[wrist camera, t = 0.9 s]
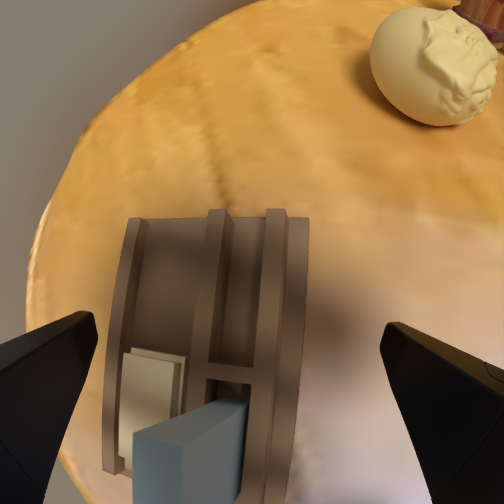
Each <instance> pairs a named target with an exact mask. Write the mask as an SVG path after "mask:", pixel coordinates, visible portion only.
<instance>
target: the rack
mask: <svg viewBox="0 0 504 504" xmlns="http://www.w3.org/2000/svg"><path fill="white" fill-rule="evenodd" d="M308 247H309V218H288V217H287V214H286V210H285V209H267V213H266V217H239V218H231V217H230V215H229V214H228V212H227V211H226V209H213V210H209V212H208V218H174V219H142V218H129V220H128V224H127V228H126V233H125V237H124V242H123V247H122V252H121V256H120V262H119V267H118V272H117V278H116V284H115V290H114V296H113V302H112V309H111V316H110V324H109V332H108V340H107V350H106V360H105V372H104V387H103V406H102V470H103V471H105V472H108V473H110V474H112V475H116V474H119V473H120V474H122V475H125V476H127V477H130V478H132V471H131V470H129V469H126V468H125V458H123V457H121V456H119V411H120V392H121V378H122V365H123V355H124V353H131V348H141V349H147V350H152V351H157V352H163V353H168V354H174V355H180V356H186V357H190V362H189V373H188V384H187V396H186V409H185V413H187V412H189V411H192V410H194V409H196V408H199V407H201V406H203V405H206V404H208V403H210V402H213V401H215V400H217V399H220V398H222V397H226V398H233V399H240V400H248V401H250V407H249V417H248V427H247V437H246V447H245V457H244V466H243V476H242V486H241V492H240V493H239V495H238V496H237V498H236V500H235V501H234V503H233V504H284V502H285V496H286V490H287V483H288V477H289V470H290V463H291V455H292V448H293V440H294V432H295V423H296V414H297V405H298V396H299V386H300V375H301V364H302V352H303V339H304V325H305V309H306V292H307V272H308Z"/></svg>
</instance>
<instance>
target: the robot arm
mask: <svg viewBox="0 0 504 504" xmlns="http://www.w3.org/2000/svg"><path fill="white" fill-rule="evenodd" d="M97 342H98V333H97V329H96V324H95V319H94V315H93V313H92V312H89V311H78V312H75V313H73V314H71V315H68V316H66V317H63V318H61V319H59V320H56V321H54V322H52V323H49V324H47V325H45V326H42V327H40V328H38V329H35V330H33V331H31V332H28V333H26V334H24V335H21V336H19V337H17V338H14V339H12V340H10V341H7V342H5V343H3V344H0V504H43V501H44V497H45V495H44V494H45V493H46V490H47V486H48V483H49V479H50V476H51V473H52V470H53V467H54V464H55V461H56V458H57V455H58V452H59V449H60V446H61V443H62V440H63V437H64V435H65V432H66V429H67V426H68V424H69V421H70V418H71V416H72V413H73V411H74V408H75V406H76V403H77V401H78V398H79V396H80V393H81V391H82V388H83V386H84V383H85V381H86V378H87V375H88V371H89V368H90V364H91V361H92V358H93V355H94V352H95V348H96V345H97ZM380 353H381V356H382V359H383V363H384V366H385V369H386V373H387V376H388V380H389V383H390V386H391V389H392V392H393V395H394V397H395V399H396V402H397V404H398V407H399V409H400V412H401V415H402V417H403V420H404V422H405V425H406V427H407V430H408V433H409V435H410V438H411V441H412V444H413V446H414V449H415V452H416V455H417V457H418V460H419V463H420V466H421V469H422V472H423V475H424V478H425V481H426V484H427V487H428V490H429V493H430V496H431V497H432V498H431V500H432V503H433V504H504V370H503V369H501V368H498V367H496V366H494V365H492V364H489V363H487V362H485V361H484V362H483V360H481V359H479V358H476V357H474V356H472V355H470V354H468V353H466V352H463V351H461V350H459V349H457V348H455V347H453V346H451V345H448V344H446V343H444V342H442V341H440V340H438V339H435V338H433V337H431V336H429V335H427V334H425V333H423V332H420V331H418V330H416V329H414V328H412V327H410V326H408V325H405V324H403V323H401V322H389V323H387V325H386V327H385V330H384V333H383V336H382V339H381V343H380Z"/></svg>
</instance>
